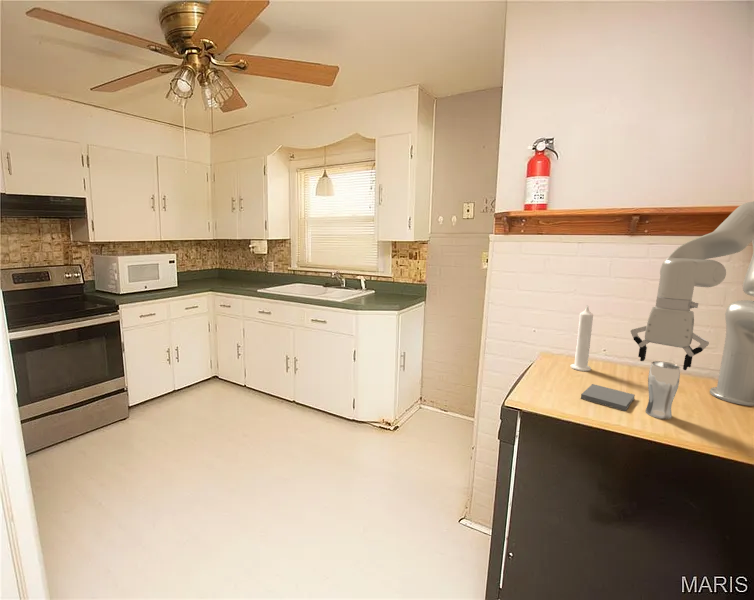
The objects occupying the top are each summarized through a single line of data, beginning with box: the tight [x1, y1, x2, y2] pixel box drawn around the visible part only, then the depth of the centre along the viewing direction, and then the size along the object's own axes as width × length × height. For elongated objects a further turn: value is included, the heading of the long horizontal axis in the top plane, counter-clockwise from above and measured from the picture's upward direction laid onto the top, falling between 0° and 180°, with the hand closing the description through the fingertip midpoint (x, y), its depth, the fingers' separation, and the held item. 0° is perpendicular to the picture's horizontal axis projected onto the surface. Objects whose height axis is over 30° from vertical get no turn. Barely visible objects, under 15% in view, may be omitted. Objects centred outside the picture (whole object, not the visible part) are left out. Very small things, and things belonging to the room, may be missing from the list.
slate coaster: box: [580, 383, 636, 412], centre depth 118 cm, size 12×12×2 cm
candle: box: [570, 305, 594, 372], centre depth 144 cm, size 7×7×25 cm
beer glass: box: [645, 360, 681, 420], centre depth 106 cm, size 7×7×15 cm
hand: (663, 364), depth 105 cm, fingers open, 9 cm apart
